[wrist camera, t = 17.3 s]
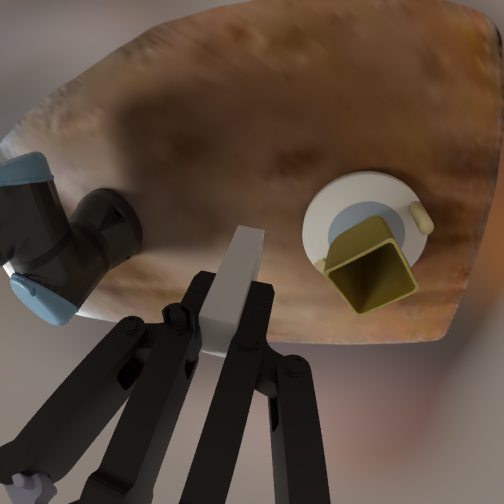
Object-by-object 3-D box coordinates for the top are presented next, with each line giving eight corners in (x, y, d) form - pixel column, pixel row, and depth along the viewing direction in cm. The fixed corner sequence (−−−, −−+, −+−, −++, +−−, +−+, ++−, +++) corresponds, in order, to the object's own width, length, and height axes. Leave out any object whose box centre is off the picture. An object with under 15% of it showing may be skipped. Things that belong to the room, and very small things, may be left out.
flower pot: (406, 246, 35) (421, 291, 28) (354, 271, 39) (357, 318, 32) (378, 196, 32) (393, 236, 25) (322, 228, 36) (321, 273, 29)
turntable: (276, 220, 39) (268, 248, 34) (382, 143, 29) (395, 160, 24) (348, 295, 44) (349, 326, 39) (442, 243, 34) (456, 271, 29)
